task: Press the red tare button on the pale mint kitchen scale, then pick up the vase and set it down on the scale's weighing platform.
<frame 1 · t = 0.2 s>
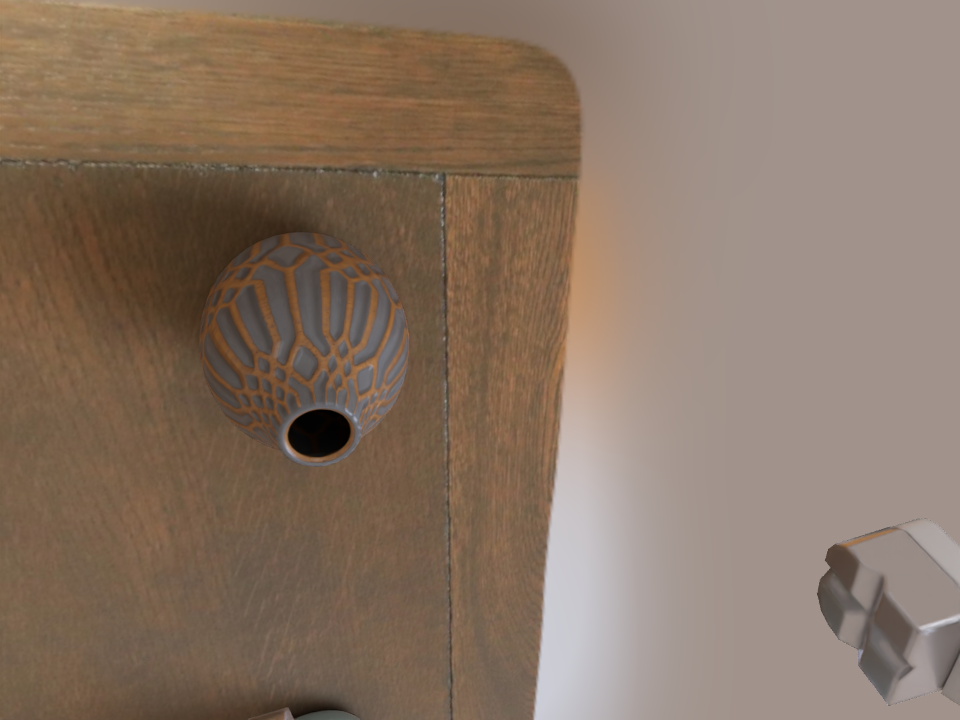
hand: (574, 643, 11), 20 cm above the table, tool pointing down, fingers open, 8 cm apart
vase: (300, 288, 29), on the table
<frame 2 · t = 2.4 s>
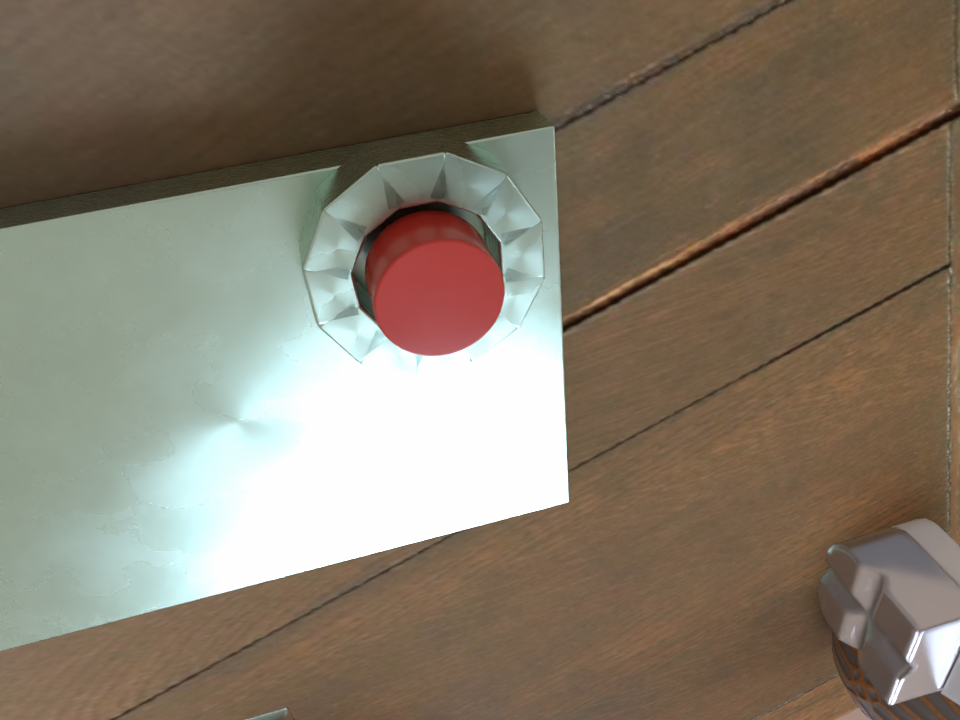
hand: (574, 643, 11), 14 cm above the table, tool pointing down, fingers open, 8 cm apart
tare button: (433, 283, 19), point 4 cm above the table, slide at 0.1 cm
vase: (866, 604, 40), on the table
scale: (240, 393, 23), on the table
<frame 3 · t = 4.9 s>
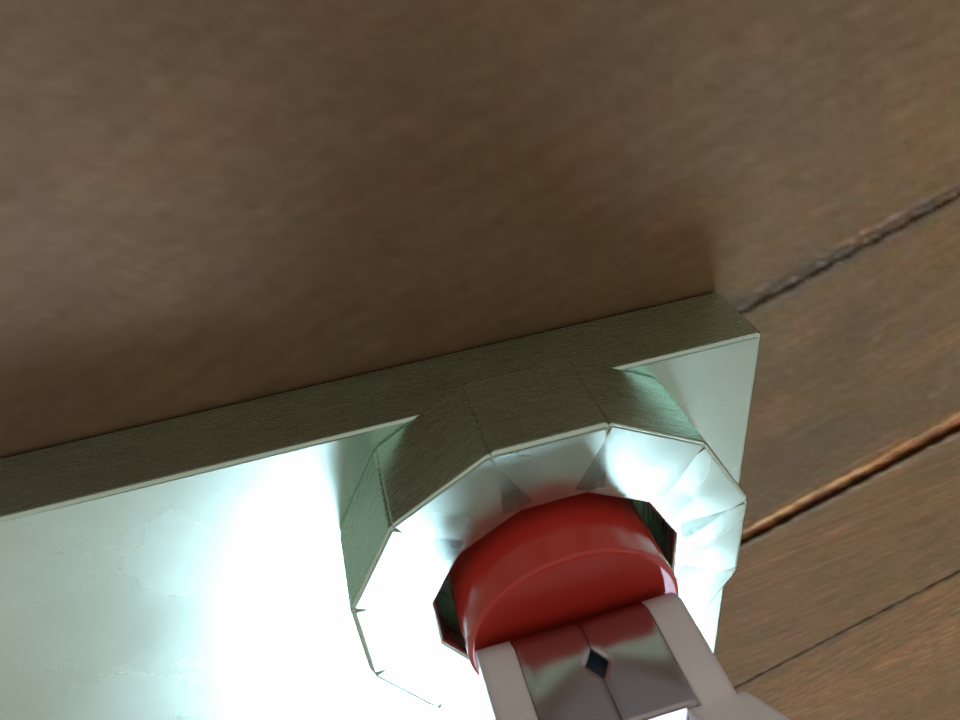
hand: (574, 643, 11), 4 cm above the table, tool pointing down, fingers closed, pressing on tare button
tare button: (557, 581, 11), point 3 cm above the table, slide at -0.5 cm, touching gripper
scale: (242, 685, 15), on the table
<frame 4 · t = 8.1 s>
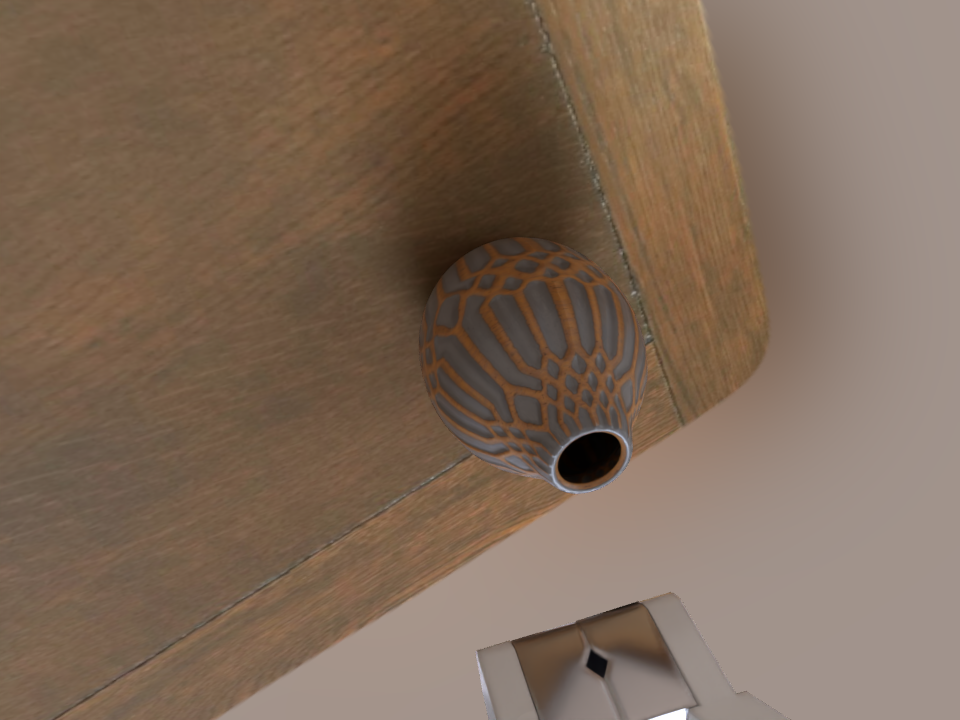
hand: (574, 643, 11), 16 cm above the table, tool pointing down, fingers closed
vase: (497, 296, 27), on the table
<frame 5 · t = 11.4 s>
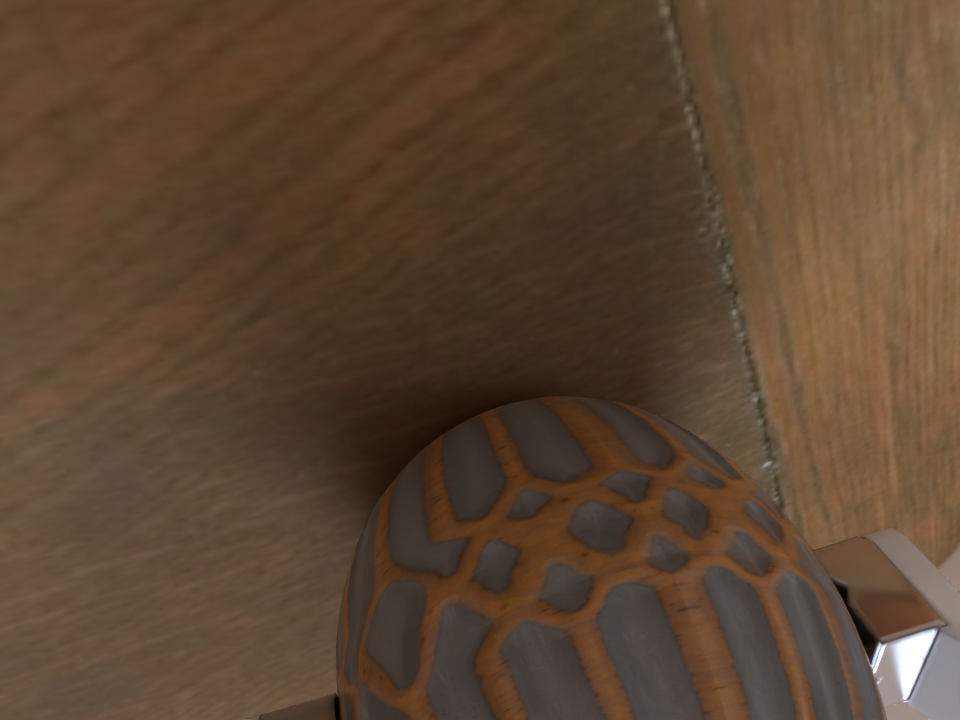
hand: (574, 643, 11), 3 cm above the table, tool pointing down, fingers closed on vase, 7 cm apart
vase: (510, 483, 14), on the table, touching gripper
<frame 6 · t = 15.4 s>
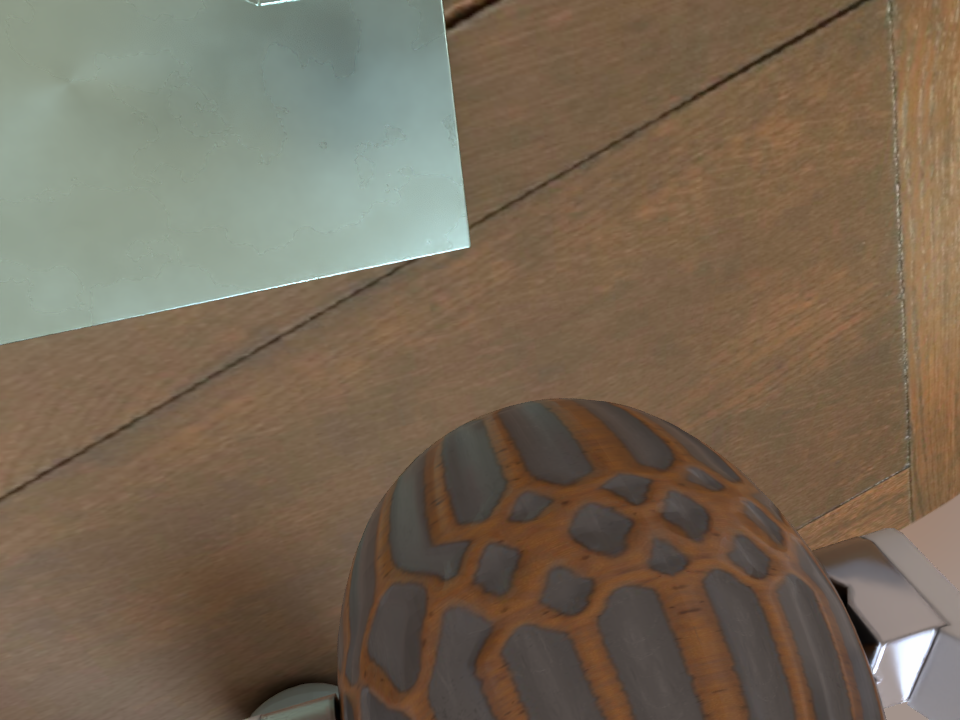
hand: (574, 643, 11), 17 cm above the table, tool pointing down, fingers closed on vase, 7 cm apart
vase: (511, 485, 14), point 14 cm above the table, touching gripper
cup: (305, 704, 39), on the table
scale: (78, 70, 20), on the table
when the fingers open (4 cm above the table, at t = 19.4 s): vase stays where it is, resting on scale.
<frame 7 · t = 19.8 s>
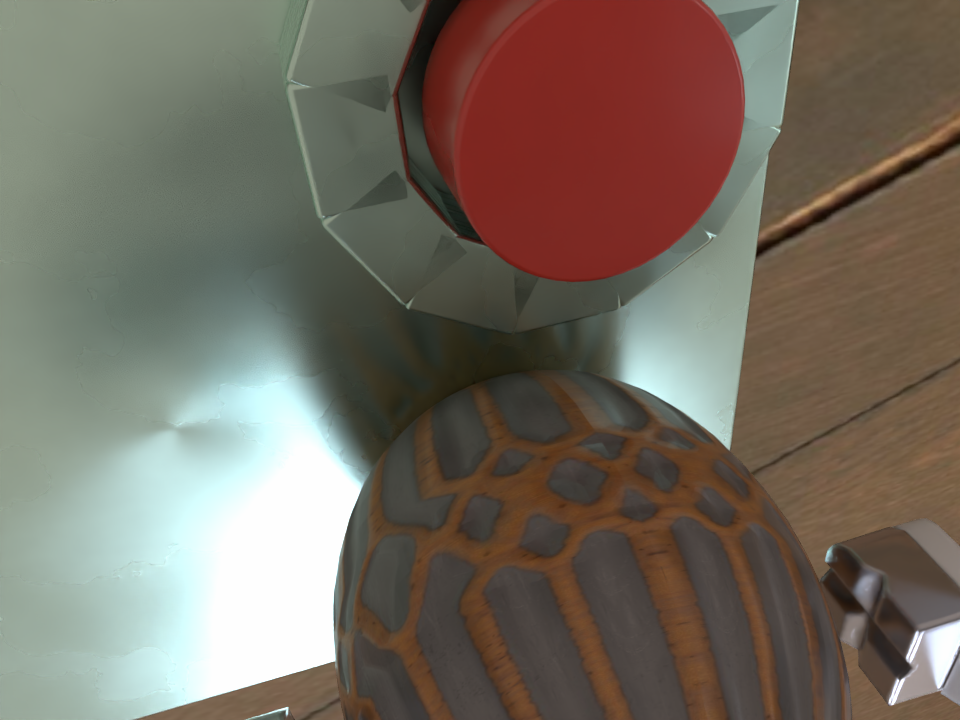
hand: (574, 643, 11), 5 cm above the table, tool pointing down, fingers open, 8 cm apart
tare button: (575, 121, 8), point 3 cm above the table, slide at 0.1 cm
vase: (500, 457, 14), point 1 cm above the table, touching scale
scale: (179, 378, 13), on the table
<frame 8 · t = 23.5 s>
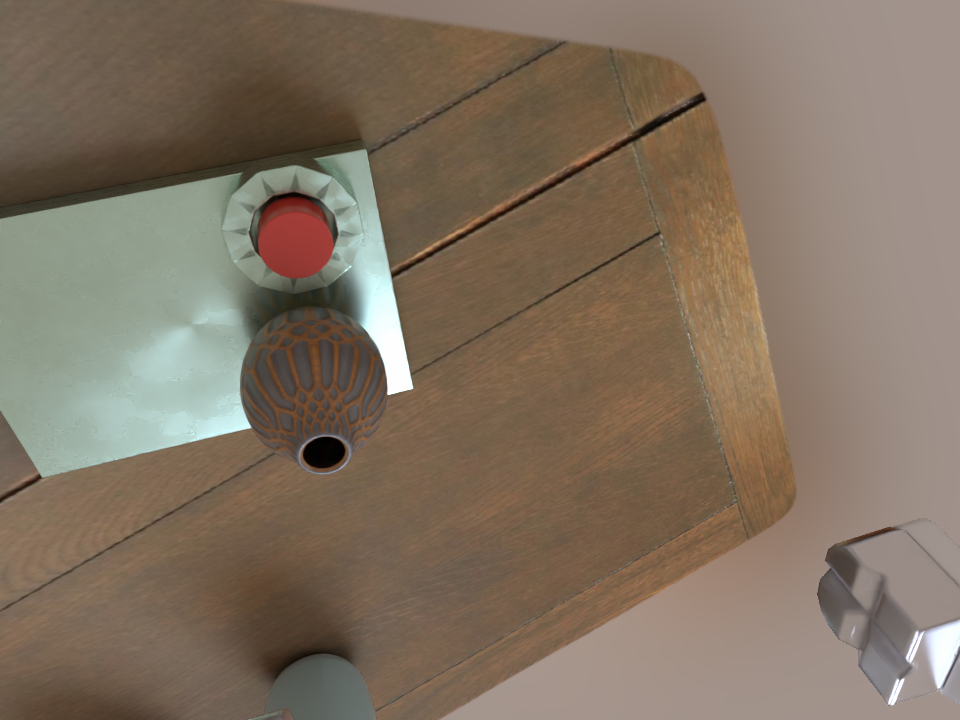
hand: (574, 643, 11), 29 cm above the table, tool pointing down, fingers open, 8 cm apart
tare button: (295, 237, 33), point 3 cm above the table, slide at 0.1 cm
vase: (309, 342, 39), point 1 cm above the table, touching scale
cup: (315, 669, 57), on the table
scale: (193, 311, 38), on the table
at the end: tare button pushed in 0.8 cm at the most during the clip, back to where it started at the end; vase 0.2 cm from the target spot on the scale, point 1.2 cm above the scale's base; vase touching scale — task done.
